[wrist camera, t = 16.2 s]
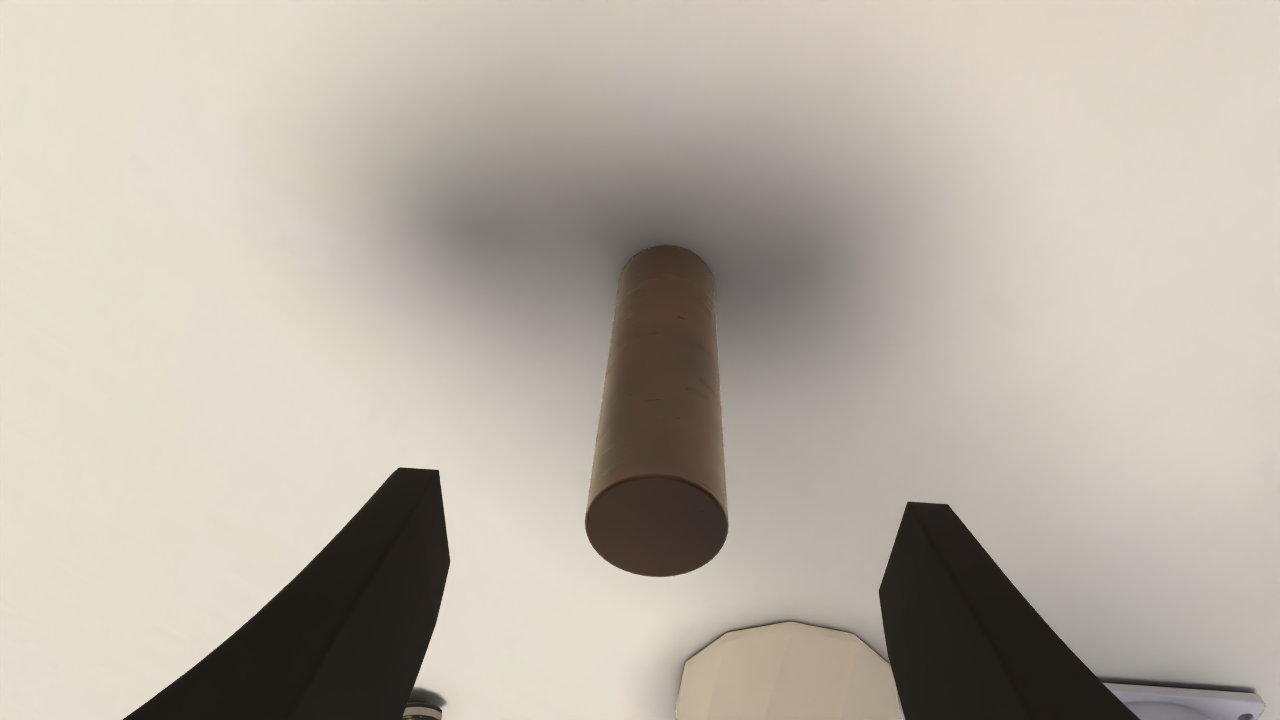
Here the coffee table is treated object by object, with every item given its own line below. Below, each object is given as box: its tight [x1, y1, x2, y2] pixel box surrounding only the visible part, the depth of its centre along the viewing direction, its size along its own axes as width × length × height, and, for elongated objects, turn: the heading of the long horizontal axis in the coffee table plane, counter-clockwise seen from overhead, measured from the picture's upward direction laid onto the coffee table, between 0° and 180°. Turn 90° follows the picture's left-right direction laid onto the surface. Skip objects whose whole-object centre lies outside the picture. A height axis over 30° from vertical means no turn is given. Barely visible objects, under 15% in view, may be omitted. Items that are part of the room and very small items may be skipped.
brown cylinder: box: [585, 246, 728, 577], centre depth 18 cm, size 3×3×9 cm
